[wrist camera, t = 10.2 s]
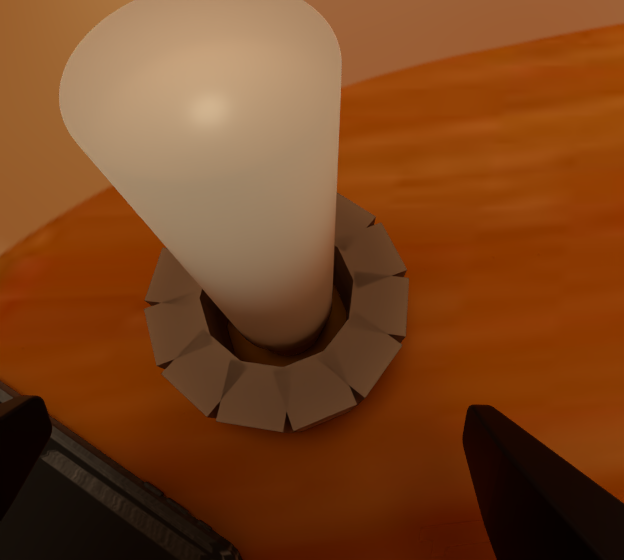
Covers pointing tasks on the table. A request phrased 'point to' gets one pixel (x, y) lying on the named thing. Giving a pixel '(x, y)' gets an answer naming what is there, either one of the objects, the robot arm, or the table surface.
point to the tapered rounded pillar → (222, 148)
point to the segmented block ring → (302, 374)
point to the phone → (98, 511)
